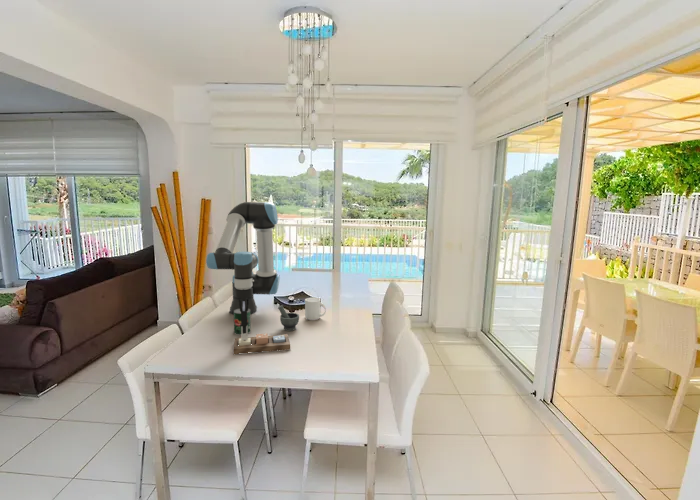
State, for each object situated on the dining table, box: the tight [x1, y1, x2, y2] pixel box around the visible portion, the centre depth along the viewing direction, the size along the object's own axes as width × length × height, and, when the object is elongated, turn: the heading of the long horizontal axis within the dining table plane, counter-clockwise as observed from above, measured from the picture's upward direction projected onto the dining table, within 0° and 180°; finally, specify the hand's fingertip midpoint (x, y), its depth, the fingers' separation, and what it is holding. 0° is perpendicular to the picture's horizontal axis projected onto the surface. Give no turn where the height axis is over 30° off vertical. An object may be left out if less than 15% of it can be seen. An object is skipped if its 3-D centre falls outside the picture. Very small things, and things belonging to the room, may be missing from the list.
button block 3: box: [273, 334, 285, 343], centre depth 160 cm, size 5×5×3 cm
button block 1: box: [238, 337, 251, 346], centre depth 156 cm, size 5×5×3 cm
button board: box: [232, 333, 291, 355], centre depth 158 cm, size 24×12×2 cm, turn 106°
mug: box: [304, 297, 327, 321], centre depth 197 cm, size 9×12×11 cm
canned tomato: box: [233, 309, 252, 336], centre depth 174 cm, size 8×8×11 cm
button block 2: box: [255, 332, 269, 344], centre depth 158 cm, size 5×5×3 cm
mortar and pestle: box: [277, 304, 300, 332], centre depth 180 cm, size 11×9×12 cm
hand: (244, 339), depth 156 cm, fingers closed
